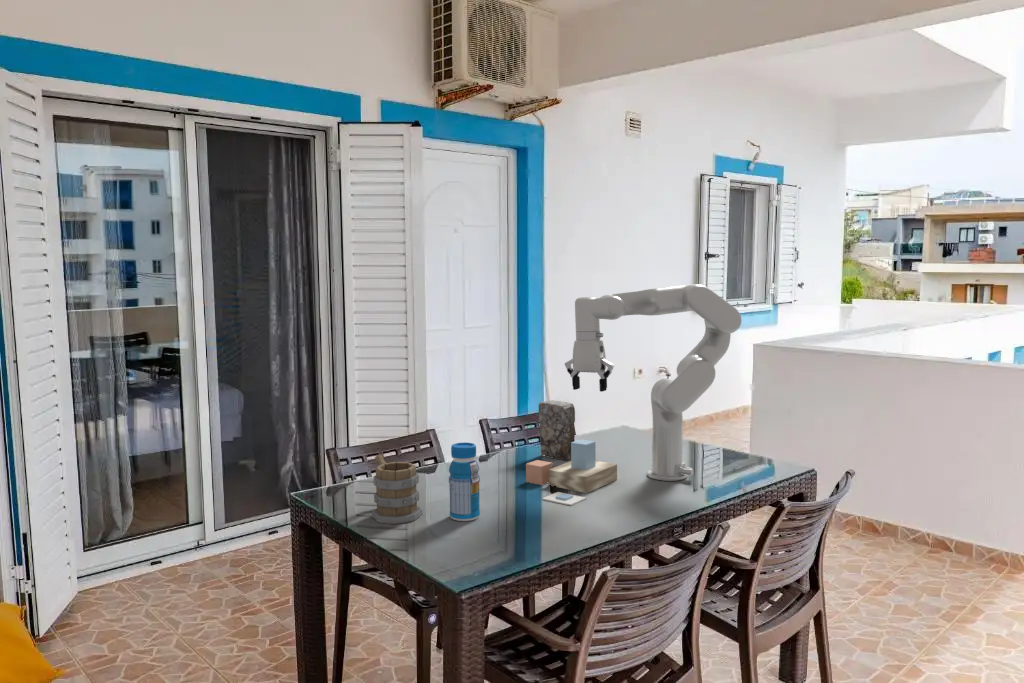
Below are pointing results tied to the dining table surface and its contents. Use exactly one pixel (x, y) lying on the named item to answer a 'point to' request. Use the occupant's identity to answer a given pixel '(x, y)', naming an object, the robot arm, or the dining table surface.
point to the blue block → (583, 454)
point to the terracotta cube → (538, 472)
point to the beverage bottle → (464, 483)
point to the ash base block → (582, 476)
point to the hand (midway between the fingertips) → (589, 390)
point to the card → (564, 498)
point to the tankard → (396, 492)
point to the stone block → (556, 429)
